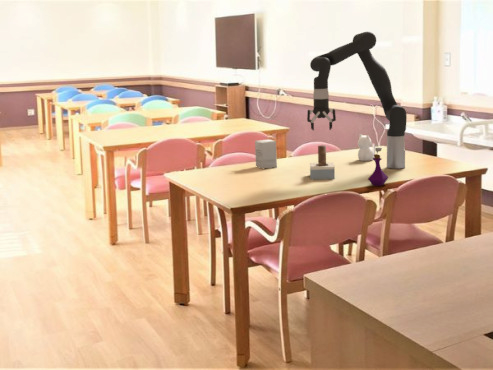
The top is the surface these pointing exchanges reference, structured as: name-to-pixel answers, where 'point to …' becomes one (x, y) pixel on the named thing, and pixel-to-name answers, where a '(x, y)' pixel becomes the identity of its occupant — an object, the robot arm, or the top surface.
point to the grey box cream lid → (322, 171)
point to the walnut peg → (322, 155)
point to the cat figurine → (365, 148)
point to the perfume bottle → (378, 172)
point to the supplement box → (265, 153)
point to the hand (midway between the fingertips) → (321, 129)
